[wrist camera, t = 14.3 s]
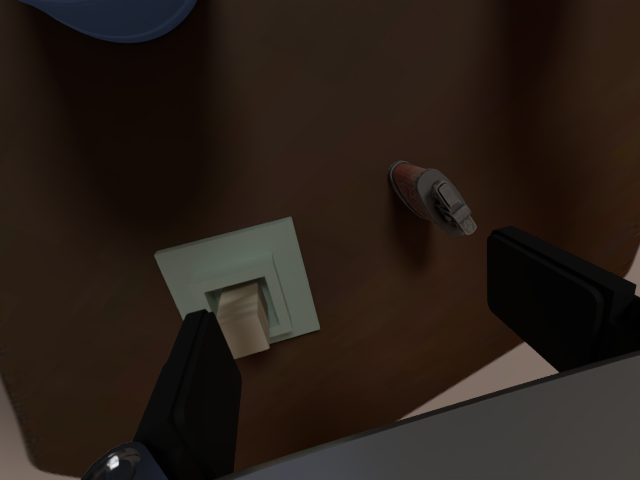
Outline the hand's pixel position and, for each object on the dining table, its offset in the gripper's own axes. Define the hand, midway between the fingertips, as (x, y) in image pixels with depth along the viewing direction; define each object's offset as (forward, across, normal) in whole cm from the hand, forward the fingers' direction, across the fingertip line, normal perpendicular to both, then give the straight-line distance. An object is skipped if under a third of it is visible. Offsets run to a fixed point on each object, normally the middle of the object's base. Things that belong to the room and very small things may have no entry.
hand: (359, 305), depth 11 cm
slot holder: (+25, +9, +12) cm, 30 cm away
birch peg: (+24, +9, +12) cm, 29 cm away
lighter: (+26, -13, +6) cm, 30 cm away
